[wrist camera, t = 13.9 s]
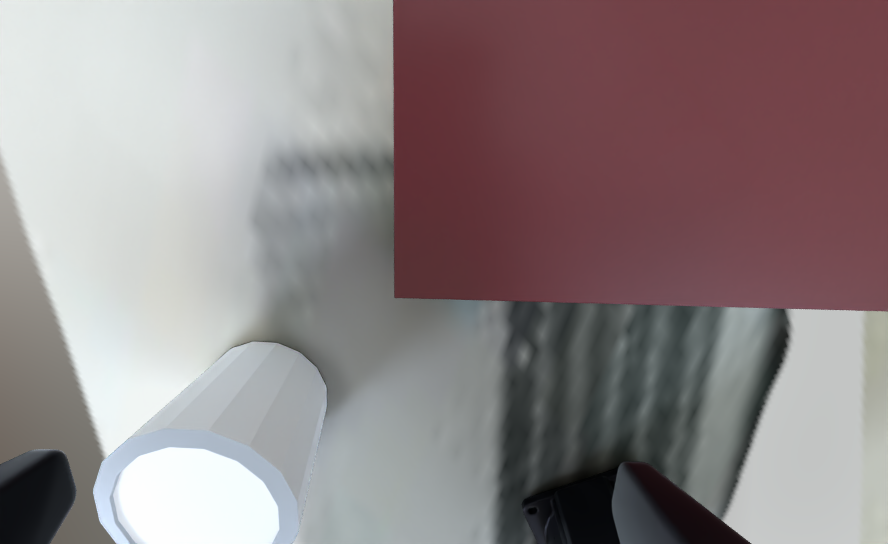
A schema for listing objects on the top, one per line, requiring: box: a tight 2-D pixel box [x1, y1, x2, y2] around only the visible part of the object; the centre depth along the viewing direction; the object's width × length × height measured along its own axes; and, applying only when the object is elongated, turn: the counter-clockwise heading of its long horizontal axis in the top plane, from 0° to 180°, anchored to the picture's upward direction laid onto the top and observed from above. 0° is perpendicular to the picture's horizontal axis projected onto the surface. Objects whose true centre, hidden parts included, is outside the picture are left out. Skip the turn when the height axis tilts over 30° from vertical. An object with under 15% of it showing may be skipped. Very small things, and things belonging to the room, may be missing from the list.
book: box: [393, 0, 888, 311], centre depth 16 cm, size 15×21×3 cm
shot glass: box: [93, 341, 327, 544], centre depth 19 cm, size 7×7×7 cm
